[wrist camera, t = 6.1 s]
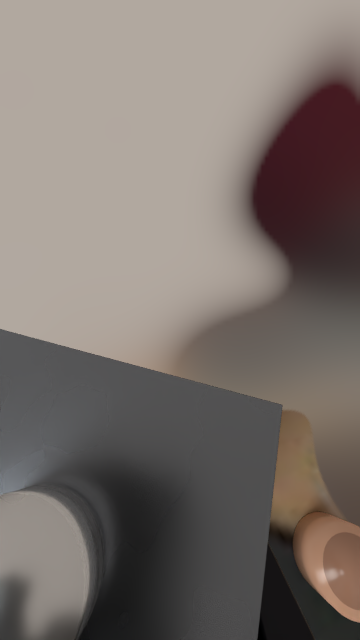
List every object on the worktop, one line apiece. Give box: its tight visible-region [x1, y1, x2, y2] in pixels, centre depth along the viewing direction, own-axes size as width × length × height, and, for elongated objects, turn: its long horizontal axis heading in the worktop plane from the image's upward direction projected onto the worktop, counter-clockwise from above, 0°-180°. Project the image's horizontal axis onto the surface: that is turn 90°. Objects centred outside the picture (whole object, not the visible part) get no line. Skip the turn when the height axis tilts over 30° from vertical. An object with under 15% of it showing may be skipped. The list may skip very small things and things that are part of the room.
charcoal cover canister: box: [0, 329, 282, 640], centre depth 8 cm, size 7×7×11 cm
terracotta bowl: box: [293, 512, 360, 623], centre depth 16 cm, size 4×4×3 cm
